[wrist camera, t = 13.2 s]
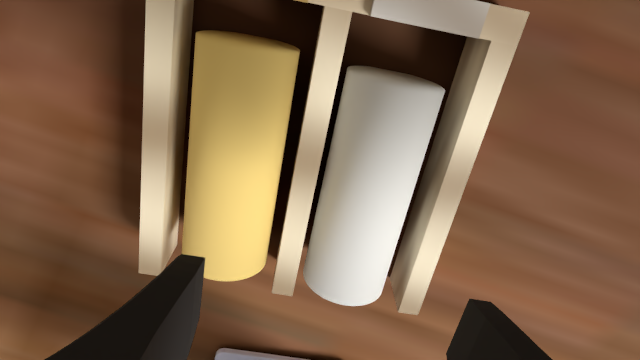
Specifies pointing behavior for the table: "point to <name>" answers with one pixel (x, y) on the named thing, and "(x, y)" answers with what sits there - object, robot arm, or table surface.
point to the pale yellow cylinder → (236, 149)
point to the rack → (442, 165)
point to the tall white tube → (369, 181)
